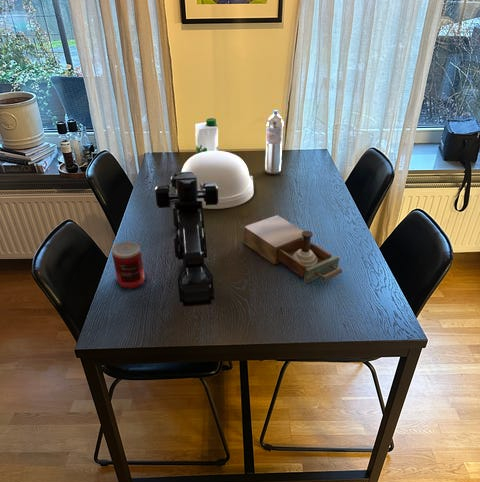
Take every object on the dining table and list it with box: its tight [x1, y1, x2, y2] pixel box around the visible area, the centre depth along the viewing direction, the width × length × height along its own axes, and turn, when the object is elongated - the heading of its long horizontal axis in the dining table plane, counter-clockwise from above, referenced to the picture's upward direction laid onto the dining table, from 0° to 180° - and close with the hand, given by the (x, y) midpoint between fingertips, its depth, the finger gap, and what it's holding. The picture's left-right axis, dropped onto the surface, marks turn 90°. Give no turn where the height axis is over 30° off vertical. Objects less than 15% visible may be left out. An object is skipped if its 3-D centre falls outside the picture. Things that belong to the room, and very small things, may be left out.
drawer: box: [277, 239, 343, 284], centre depth 134 cm, size 19×12×4 cm, turn 36°
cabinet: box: [243, 214, 304, 265], centre depth 144 cm, size 16×14×6 cm
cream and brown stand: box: [292, 230, 318, 268], centre depth 133 cm, size 8×8×9 cm
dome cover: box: [175, 150, 255, 210], centre depth 174 cm, size 32×30×14 cm
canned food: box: [111, 241, 146, 289], centre depth 127 cm, size 8×8×11 cm
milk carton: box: [194, 117, 219, 154], centre depth 190 cm, size 9×9×20 cm
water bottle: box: [264, 109, 285, 176], centre depth 186 cm, size 7×7×25 cm
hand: (186, 184), depth 144 cm, fingers open, 9 cm apart
